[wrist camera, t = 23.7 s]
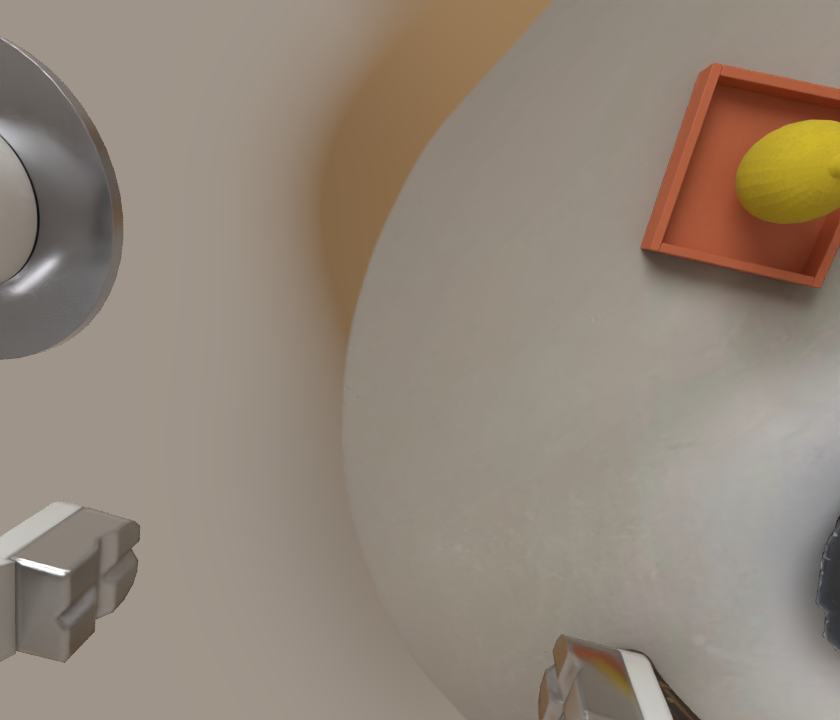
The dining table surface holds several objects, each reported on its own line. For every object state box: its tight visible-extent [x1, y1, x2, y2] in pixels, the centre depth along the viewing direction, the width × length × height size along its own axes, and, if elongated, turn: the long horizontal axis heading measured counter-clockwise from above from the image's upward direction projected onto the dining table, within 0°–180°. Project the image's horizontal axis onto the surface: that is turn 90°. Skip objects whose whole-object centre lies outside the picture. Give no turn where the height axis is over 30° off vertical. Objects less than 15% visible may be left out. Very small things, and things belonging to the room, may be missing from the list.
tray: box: [641, 63, 840, 288], centre depth 32 cm, size 11×11×2 cm
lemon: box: [735, 120, 840, 224], centre depth 28 cm, size 6×6×8 cm
